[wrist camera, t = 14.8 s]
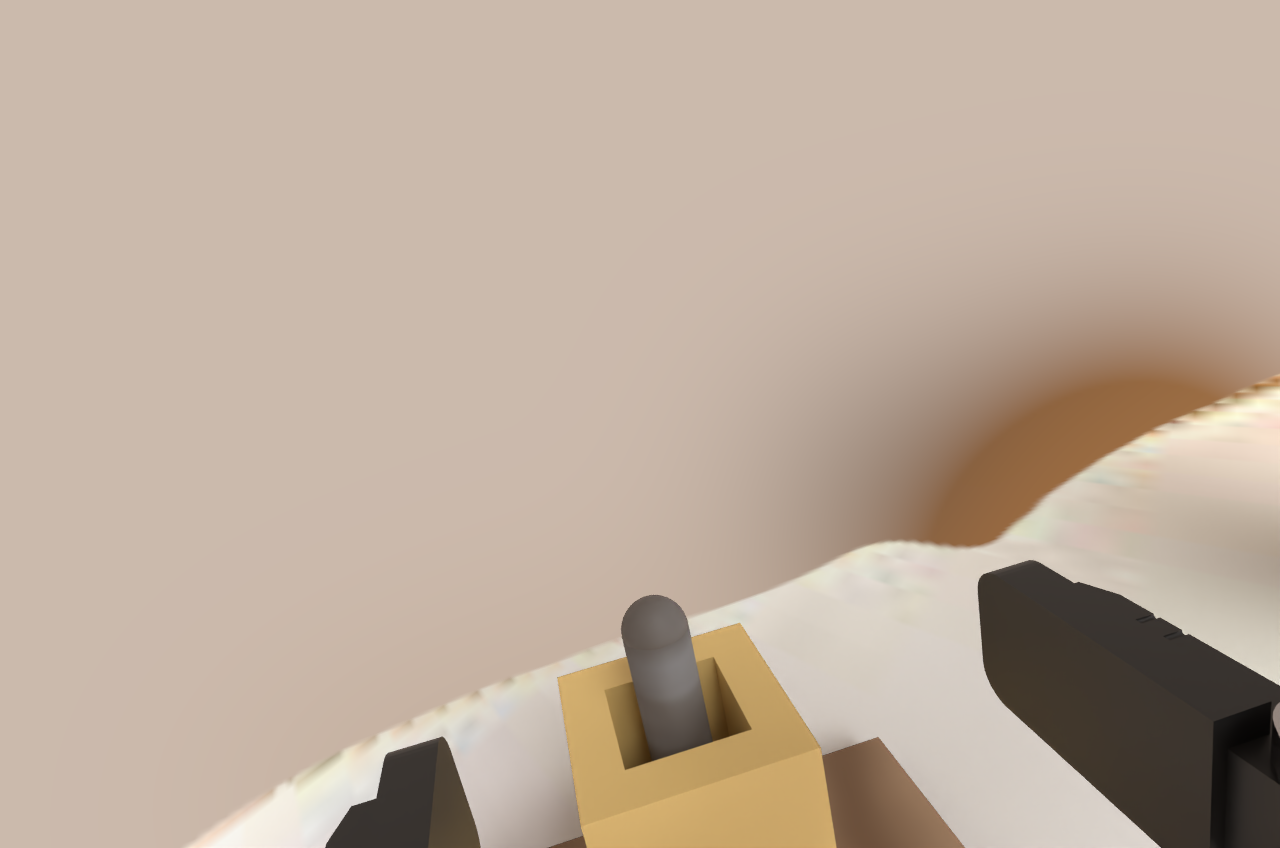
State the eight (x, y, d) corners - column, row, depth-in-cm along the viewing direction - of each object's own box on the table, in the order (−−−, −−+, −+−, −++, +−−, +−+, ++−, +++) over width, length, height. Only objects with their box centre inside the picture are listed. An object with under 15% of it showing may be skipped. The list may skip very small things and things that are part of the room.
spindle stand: (881, 765, 31) (840, 443, 27) (1171, 1153, 18) (1179, 643, 14) (466, 907, 29) (348, 576, 25) (451, 1477, 16) (190, 976, 11)
